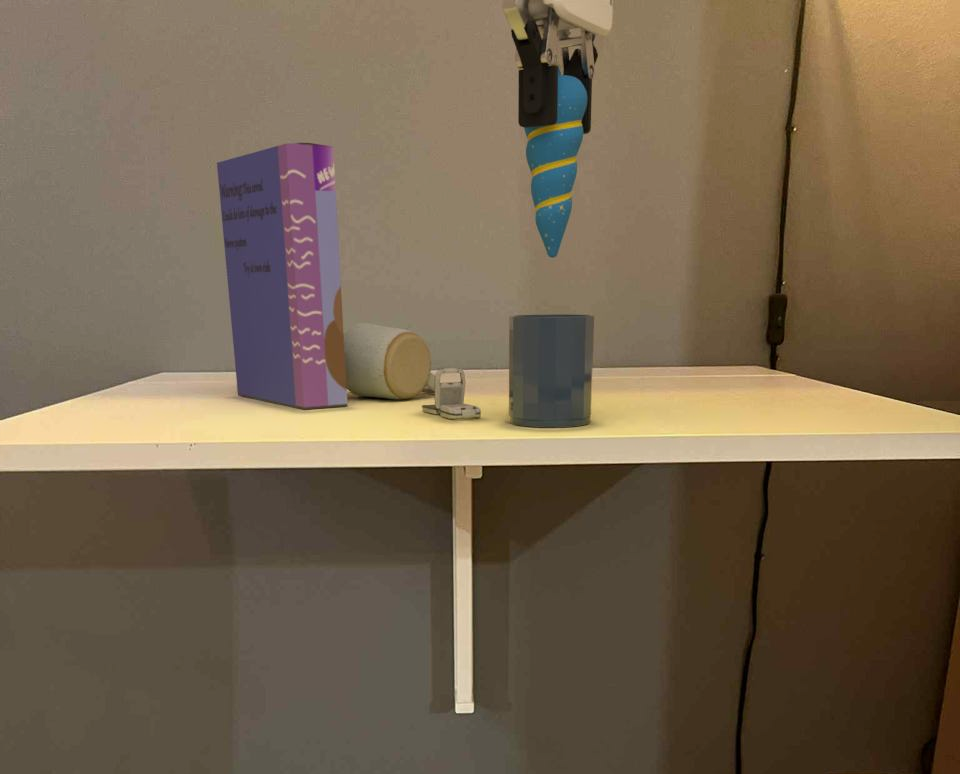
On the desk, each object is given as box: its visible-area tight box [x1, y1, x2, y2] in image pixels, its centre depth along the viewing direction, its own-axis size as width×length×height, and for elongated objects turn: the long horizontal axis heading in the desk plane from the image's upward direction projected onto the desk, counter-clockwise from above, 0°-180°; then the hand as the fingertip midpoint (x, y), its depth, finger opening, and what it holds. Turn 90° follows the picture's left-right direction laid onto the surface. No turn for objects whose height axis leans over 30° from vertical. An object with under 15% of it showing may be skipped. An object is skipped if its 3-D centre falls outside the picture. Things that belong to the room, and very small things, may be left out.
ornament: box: [523, 53, 587, 259], centre depth 80 cm, size 5×5×15 cm
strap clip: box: [421, 367, 482, 420], centre depth 92 cm, size 8×3×4 cm, turn 25°
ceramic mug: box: [343, 322, 436, 401], centre depth 107 cm, size 11×8×8 cm
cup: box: [508, 313, 595, 429], centre depth 86 cm, size 7×7×9 cm
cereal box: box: [216, 142, 348, 411], centre depth 101 cm, size 17×5×24 cm, turn 35°
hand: (555, 127), depth 80 cm, fingers closed on ornament, 5 cm apart
